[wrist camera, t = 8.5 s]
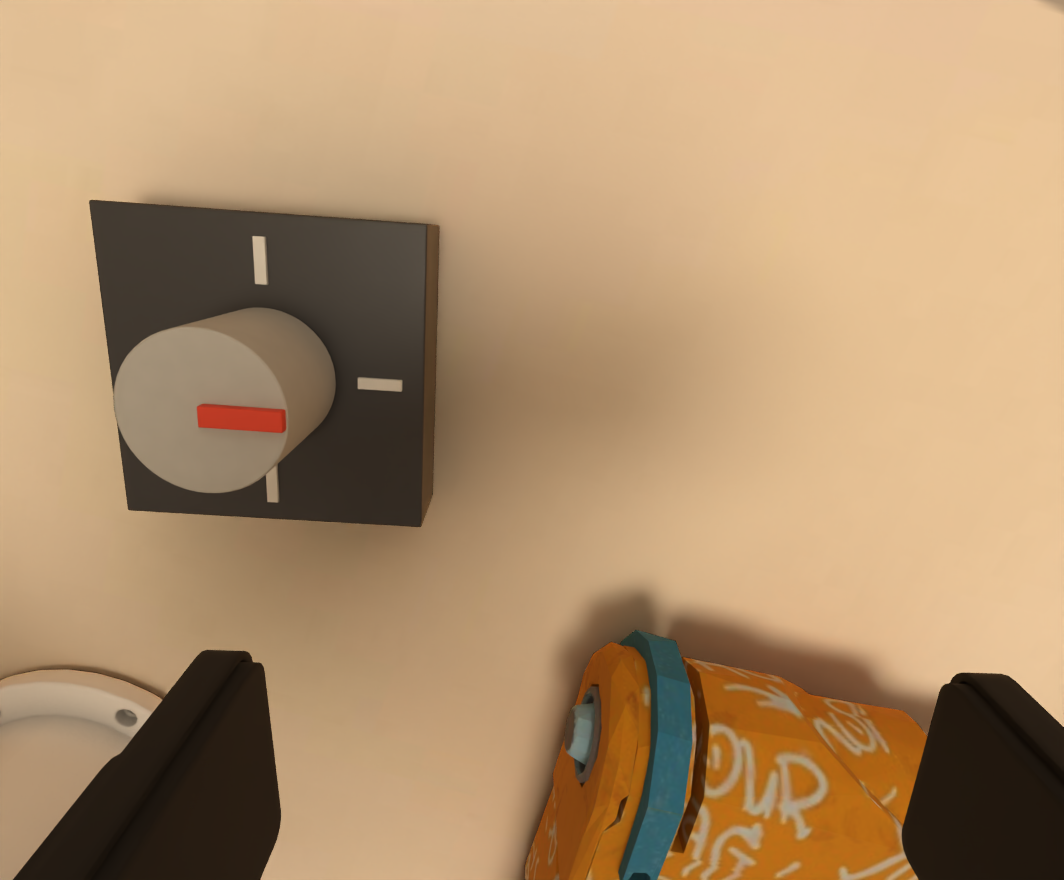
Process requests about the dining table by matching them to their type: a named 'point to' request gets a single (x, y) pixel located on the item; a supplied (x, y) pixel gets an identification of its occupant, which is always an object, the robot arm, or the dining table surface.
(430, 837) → the dining table surface
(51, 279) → the dining table surface
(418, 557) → the dining table surface
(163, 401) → the timer knob
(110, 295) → the timer panel
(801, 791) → the device
